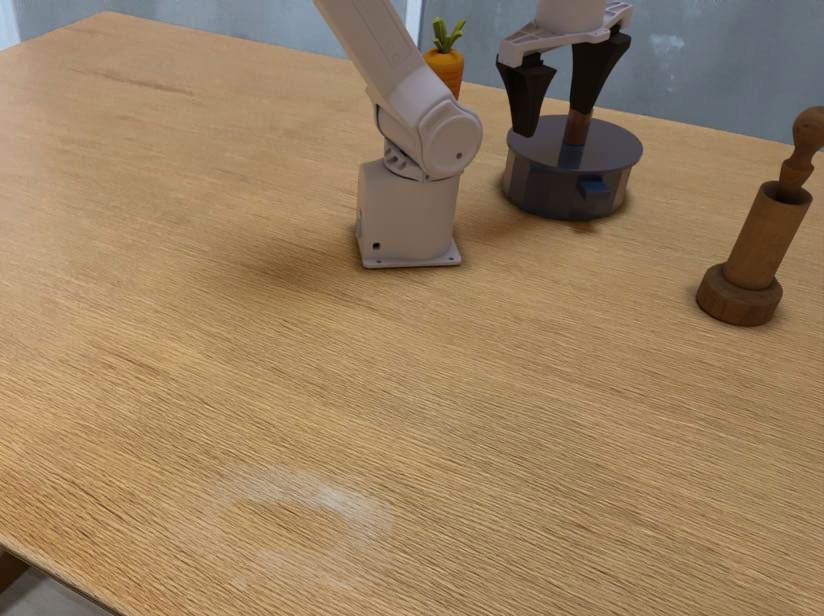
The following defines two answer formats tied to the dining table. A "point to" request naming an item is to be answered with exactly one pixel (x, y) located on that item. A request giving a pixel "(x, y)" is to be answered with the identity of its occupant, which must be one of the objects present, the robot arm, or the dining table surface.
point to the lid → (577, 145)
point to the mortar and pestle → (765, 235)
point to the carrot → (446, 56)
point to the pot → (562, 191)
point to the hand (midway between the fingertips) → (551, 122)
